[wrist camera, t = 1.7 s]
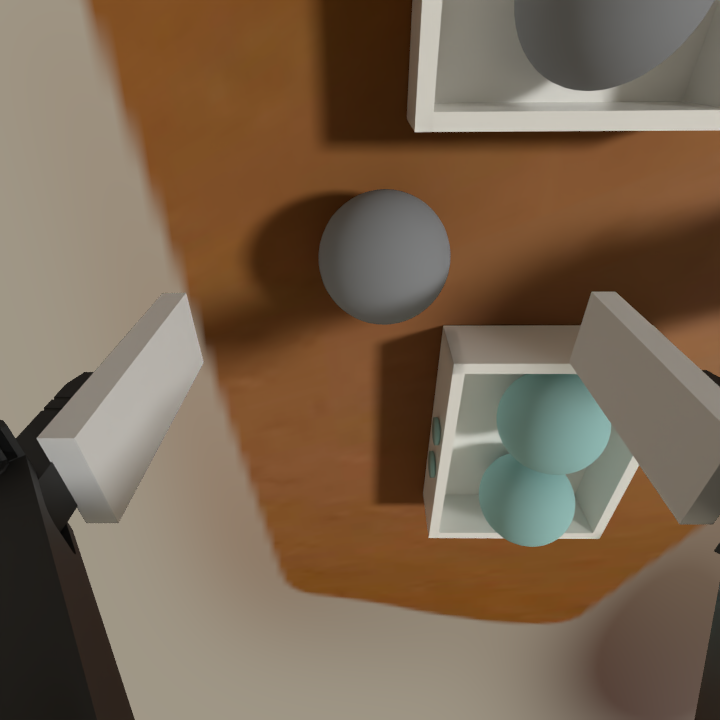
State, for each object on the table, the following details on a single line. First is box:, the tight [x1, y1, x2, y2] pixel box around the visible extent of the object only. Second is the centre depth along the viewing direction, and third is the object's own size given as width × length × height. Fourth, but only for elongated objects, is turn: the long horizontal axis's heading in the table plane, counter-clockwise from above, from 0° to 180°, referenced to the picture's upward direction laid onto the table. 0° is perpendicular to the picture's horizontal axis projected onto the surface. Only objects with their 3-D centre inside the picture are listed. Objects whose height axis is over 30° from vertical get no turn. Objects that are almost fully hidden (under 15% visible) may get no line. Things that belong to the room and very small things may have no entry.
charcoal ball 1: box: [319, 189, 450, 324], centre depth 18 cm, size 6×6×6 cm
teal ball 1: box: [496, 374, 611, 475], centre depth 23 cm, size 6×6×6 cm
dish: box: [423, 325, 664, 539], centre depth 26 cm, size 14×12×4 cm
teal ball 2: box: [479, 453, 575, 547], centre depth 27 cm, size 6×6×6 cm
